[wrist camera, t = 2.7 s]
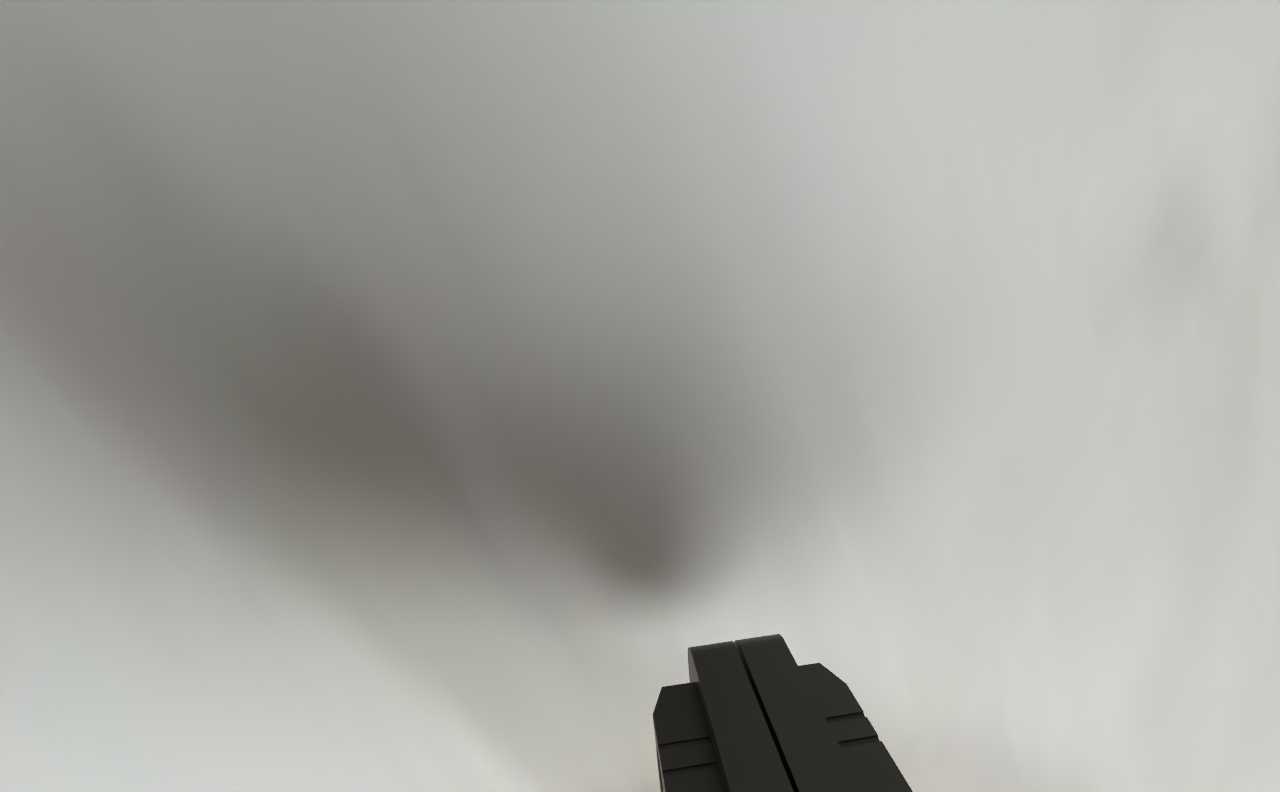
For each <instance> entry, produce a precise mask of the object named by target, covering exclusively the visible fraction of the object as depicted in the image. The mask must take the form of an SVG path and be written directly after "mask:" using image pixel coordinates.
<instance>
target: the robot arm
mask: <svg viewBox="0 0 1280 792" xmlns="http://www.w3.org/2000/svg"><path fill="white" fill-rule="evenodd" d="M688 663H689V676H690V683H686V684H679V685H673V686H666V687H662V689H661V692H660V695H659V698H658V701H657V704H656V707H655V710H654V713H653V721H654V730H655V740H656V750H657V760H658V769H659V779H660V789H661V792H912V790H911V788H910V787H909V785H908V783H907V782H906V780H905V779H904V777H903V775H902V774H901V772H900V770H899V769H898V767H897V766H896V764H895V762H894V761H893V759H892V757H891V756H890V754H889V752H888V751H887V749H886V748H885V746H884V744H883V743H882V741H879V739H878V735H877V733H876V731H875V730H874V728H873V726H872V725H871V723H870V722H869V720H868V718H867V717H865V716H864V713H863V710H862V709H861V707H860V705H859V704H858V702H857V700H856V699H855V697H854V696H853V694H852V692H851V691H850V689H849V687H848V686H847V684H846V683H844V682H843V681H842V680H841V679H839V678H838V677H837V676H836V675H834V674H833V673H832V672H830V671H829V670H828V669H827V668H825V667H824V666H823V665H822V664H820V663H815V664H809V665H802V666H798V665H797V664H796V662H795V660H794V658H793V656H792V654H791V652H790V650H789V648H788V646H787V645H786V643H785V641H784V639H783V637H782V636H781V635H780V634H776V635H769V636H762V637H756V638H749V639H742V640H735V642H733V641H730V642H723V643H716V644H710V645H703V646H696V647H689V648H688Z"/></svg>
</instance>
